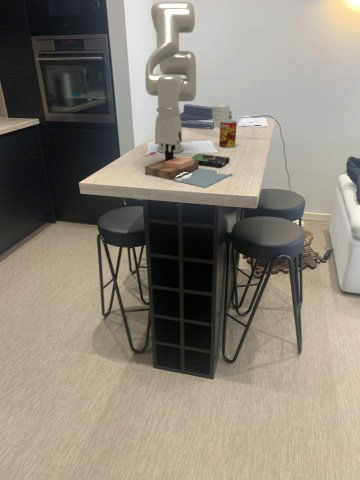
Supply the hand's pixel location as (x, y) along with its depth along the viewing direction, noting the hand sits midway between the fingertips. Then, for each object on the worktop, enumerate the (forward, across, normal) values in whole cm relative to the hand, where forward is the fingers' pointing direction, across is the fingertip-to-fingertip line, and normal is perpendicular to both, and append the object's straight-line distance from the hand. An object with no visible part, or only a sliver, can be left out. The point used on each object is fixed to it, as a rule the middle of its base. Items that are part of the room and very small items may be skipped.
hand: (169, 161), depth 147 cm
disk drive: (+5, +7, +19) cm, 20 cm away
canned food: (+4, -3, +50) cm, 50 cm away
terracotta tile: (+1, +5, 0) cm, 5 cm away
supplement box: (+4, -32, +93) cm, 98 cm away
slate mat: (+4, +16, 0) cm, 16 cm away
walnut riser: (+4, +1, 0) cm, 4 cm away
